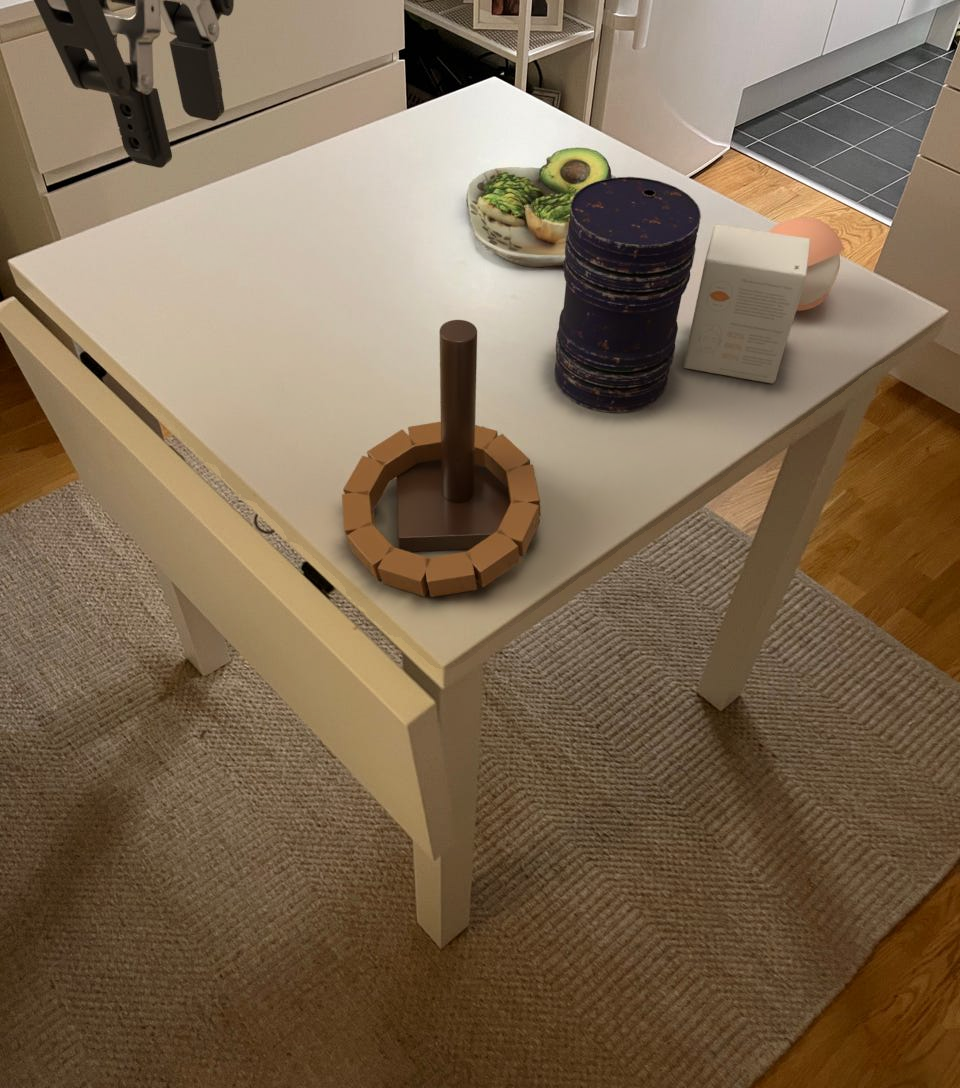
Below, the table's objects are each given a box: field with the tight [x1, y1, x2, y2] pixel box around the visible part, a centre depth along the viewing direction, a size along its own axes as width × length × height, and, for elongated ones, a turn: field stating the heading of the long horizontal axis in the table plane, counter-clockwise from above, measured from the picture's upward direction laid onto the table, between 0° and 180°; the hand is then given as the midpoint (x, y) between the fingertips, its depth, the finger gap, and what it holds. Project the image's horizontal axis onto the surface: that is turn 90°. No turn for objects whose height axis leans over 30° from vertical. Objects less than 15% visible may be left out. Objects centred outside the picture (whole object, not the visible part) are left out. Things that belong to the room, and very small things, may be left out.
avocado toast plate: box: [465, 147, 617, 268], centre depth 97 cm, size 19×18×5 cm
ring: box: [341, 421, 542, 598], centre depth 72 cm, size 14×14×2 cm
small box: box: [683, 223, 810, 384], centre depth 83 cm, size 8×6×10 cm
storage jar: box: [553, 176, 702, 414], centre depth 79 cm, size 10×10×15 cm
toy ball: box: [768, 216, 845, 312], centre depth 89 cm, size 8×8×8 cm
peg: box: [396, 319, 510, 552], centre depth 69 cm, size 9×9×16 cm
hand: (178, 137), depth 53 cm, fingers open, 5 cm apart
